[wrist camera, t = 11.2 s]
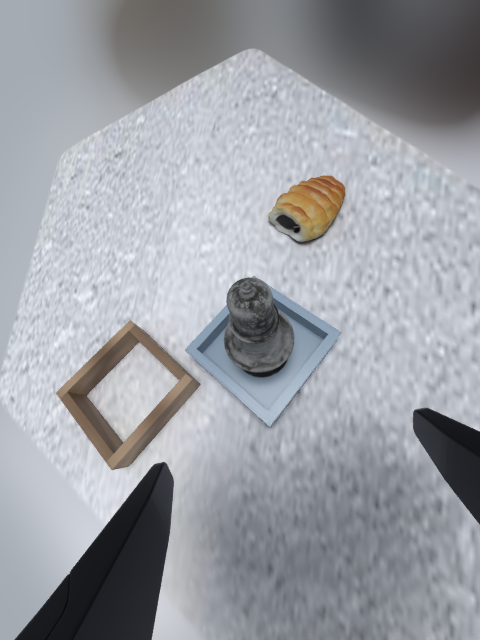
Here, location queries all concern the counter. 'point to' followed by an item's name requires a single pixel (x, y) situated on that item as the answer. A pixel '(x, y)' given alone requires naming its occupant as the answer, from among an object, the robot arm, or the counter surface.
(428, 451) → the robot arm
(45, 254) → the counter surface
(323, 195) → the pastry
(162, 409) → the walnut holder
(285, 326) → the grey stone chess piece
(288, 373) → the slate tray
